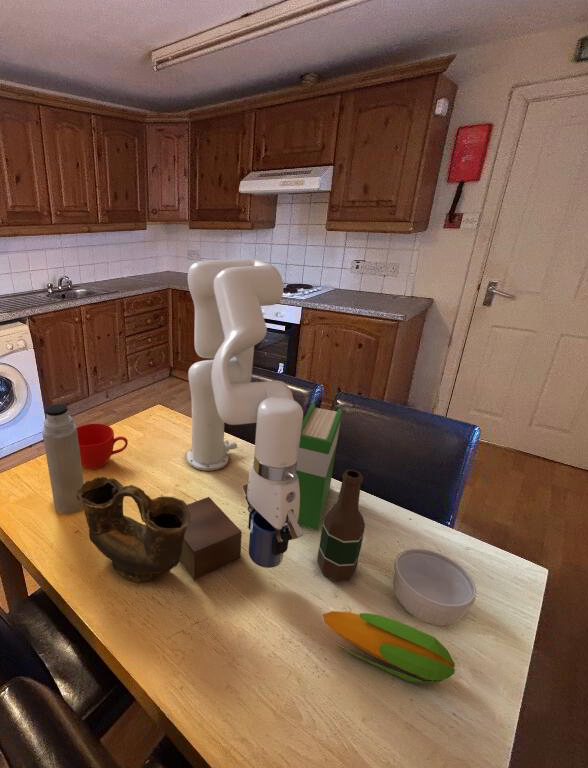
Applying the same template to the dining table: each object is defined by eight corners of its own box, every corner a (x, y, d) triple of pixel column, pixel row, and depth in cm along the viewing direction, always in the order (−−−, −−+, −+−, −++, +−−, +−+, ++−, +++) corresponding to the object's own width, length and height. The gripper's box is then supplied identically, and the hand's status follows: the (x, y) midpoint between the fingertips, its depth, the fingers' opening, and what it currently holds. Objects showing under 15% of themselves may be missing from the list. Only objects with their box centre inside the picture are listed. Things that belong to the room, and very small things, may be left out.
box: (166, 540, 96) (166, 517, 93) (209, 523, 100) (209, 500, 98) (194, 580, 85) (194, 555, 83) (240, 558, 90) (241, 534, 88)
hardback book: (302, 480, 115) (311, 403, 106) (329, 488, 112) (342, 409, 102) (285, 520, 101) (295, 434, 91) (317, 530, 98) (330, 442, 88)
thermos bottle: (61, 493, 112) (46, 399, 101) (89, 494, 111) (78, 400, 100) (49, 513, 105) (32, 414, 94) (80, 514, 104) (67, 416, 93)
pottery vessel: (74, 562, 90) (62, 487, 82) (103, 529, 99) (95, 459, 91) (177, 605, 80) (175, 525, 72) (199, 565, 89) (200, 489, 81)
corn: (463, 673, 60) (321, 616, 69) (451, 708, 63) (315, 650, 71) (458, 632, 66) (328, 585, 75) (446, 666, 69) (322, 617, 78)
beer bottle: (354, 558, 90) (374, 465, 80) (356, 587, 83) (377, 490, 73) (317, 550, 92) (331, 459, 83) (315, 577, 85) (331, 481, 76)
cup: (267, 537, 87) (271, 503, 84) (289, 559, 82) (294, 524, 78) (242, 549, 85) (244, 515, 81) (262, 573, 79) (266, 537, 75)
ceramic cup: (126, 475, 119) (124, 445, 115) (67, 475, 119) (63, 446, 115) (131, 451, 131) (129, 423, 127) (78, 451, 131) (74, 423, 127)
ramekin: (469, 646, 72) (480, 618, 69) (385, 613, 78) (392, 586, 75) (464, 588, 82) (473, 562, 80) (390, 564, 88) (397, 539, 86)
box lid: (165, 515, 93) (164, 512, 93) (208, 499, 98) (208, 496, 98) (194, 555, 83) (194, 552, 82) (241, 534, 88) (241, 531, 87)
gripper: (326, 484, 69) (313, 563, 76) (260, 436, 83) (254, 506, 90) (292, 499, 66) (282, 579, 73) (229, 446, 80) (226, 518, 87)
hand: (267, 538), depth 82 cm, fingers closed on cup, 6 cm apart
